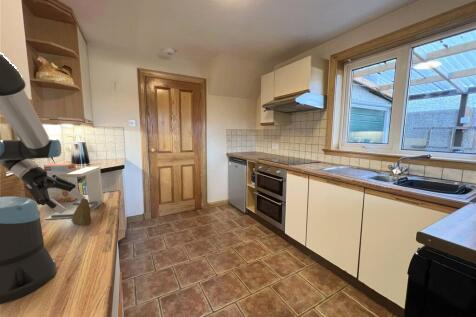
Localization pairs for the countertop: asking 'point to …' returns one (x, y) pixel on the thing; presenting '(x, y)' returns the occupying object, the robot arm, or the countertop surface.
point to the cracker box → (61, 172)
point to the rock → (82, 213)
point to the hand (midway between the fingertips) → (74, 205)
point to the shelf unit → (92, 187)
